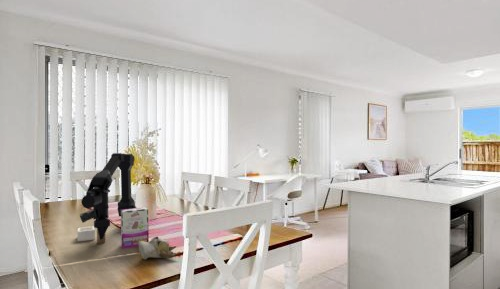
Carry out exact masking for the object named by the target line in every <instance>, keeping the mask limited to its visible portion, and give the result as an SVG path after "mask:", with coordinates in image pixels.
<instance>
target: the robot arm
mask: <svg viewBox="0 0 500 289" xmlns="http://www.w3.org/2000/svg"><path fill="white" fill-rule="evenodd" d="M135 160H136V158H135V155H133V154H132V153H123V152H114V153H112V154H111V157H110V158H109V160H108V161H107V163H106V164H105V165H104V167H103V169H102V170H101V171H99V172H96V174H94V176H93V177H92V178H91V180H90V182H89V185H88V188H87V190H86V193H85V195H84V196H83V197H82V198H81V206H82V207H83V208H84V209H88V210H86V211H84V212H82V213H80V214H79V218H80V220H81V222H82V224H83V223H86V222H87V221H89V220H92V219H93V226H94V228H95V229H96V230H97V229H98V232H99V237H100V239H103V238H104V235H105V236H106V233H107V230H108V229H109V227H110V226H111V221H110V220H111V219H109V193H110V192H111V190H110V187H111V185H112V182H113V179H112V178H113V176H114V174H115V172H116V170H117V169H119V170H120V187H121V190H120V192H121V198H120V199H119V200H118V201H117V213H118V217H121V210H124V209H134V208H137V206H136V201H135V199H133V197H132V171H131V170H132V168H133V167H134V165H135Z"/></svg>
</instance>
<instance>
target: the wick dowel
mask: <svg viewBox="0 0 500 289" xmlns="http://www.w3.org/2000/svg"><path fill="white" fill-rule="evenodd" d="M105 243H106V234H105V235H104V238H103V239H100V237H99V232H98V229H97V228H96V244H98V245H99V244H102V245H103V244H105Z"/></svg>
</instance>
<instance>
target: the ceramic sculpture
mask: <svg viewBox="0 0 500 289" xmlns="http://www.w3.org/2000/svg"><path fill="white" fill-rule="evenodd" d="M138 244H139V246H138V252H139V253H140V254H141V257H142V259H143V260H147V259H148V258H154V259H162V258H163V259H171V258H174V257H176V256H178V254H177V253H174V252H173V250H174V249H176V248H177V245H176V246H170V243H169V242H168V241H167V240H166V239H165V238H159V236H155V237H152V238H151V239H150V241H149V242H144V241H139V242H138Z"/></svg>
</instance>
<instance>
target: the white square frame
mask: <svg viewBox="0 0 500 289" xmlns="http://www.w3.org/2000/svg"><path fill="white" fill-rule="evenodd" d="M95 235H96V228H94V225H92V226H85V227H83V226H82V227H78V228H77V242H84V241H92V240H96V236H95Z"/></svg>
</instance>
